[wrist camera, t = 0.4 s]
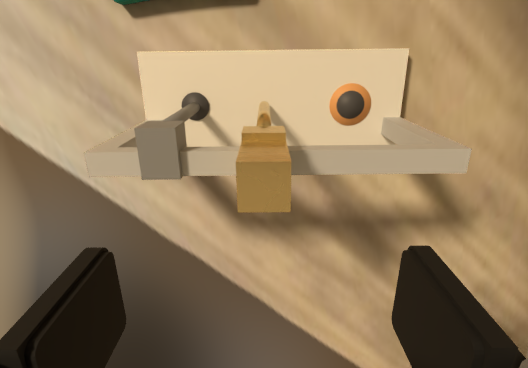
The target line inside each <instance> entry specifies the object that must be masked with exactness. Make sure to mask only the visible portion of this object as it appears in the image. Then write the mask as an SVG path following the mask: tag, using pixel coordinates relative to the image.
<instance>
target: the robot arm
mask: <svg viewBox="0 0 528 368" xmlns="http://www.w3.org/2000/svg"><path fill="white" fill-rule="evenodd" d="M392 324H393V328H394V330H395V332H396V334H397V336H398V339H399V341H400V343H401V345H402V347H403V349H404V351H405V353H406V355H407V358H408V360H409V362H410V364H411V366H412V368H528V359H526V358H525V357H524V356H523V355H522V353H521V352H520V351H519V350H518V347H517V346H516V345H515V344H514V343H513V341H512V340H511V339H510V338H509V337H508V336H507V334H506V333H505V332H504V331H503V330H502V329H501V328H500V326H499V325H498V324H497V323H496V322H495V321H494V319H493V318H492V317H491V316H490V315H489V314H488V313H487V311H486V310H485V309H484V308H483V307H482V306H481V304H480V303H479V302H478V301H477V300H476V299H475V298H474V296H473V295H472V294H471V293H470V292H469V291H468V289H467V288H466V287H465V286H464V285H463V284H462V283H461V281H460V280H459V279H458V278H457V277H456V276H455V274H454V273H453V272H452V271H451V270H450V269H449V268H448V266H447V265H446V264H445V263H444V262H443V261H442V259H441V258H440V257H439V256H438V255H437V254H436V253H435V251H434V250H433V249H432V248H431V247H430V246H409V248H408V250H404V251H403V253H402V258H401V264H400V270H399V276H398V282H397V288H396V294H395V300H394V306H393V312H392ZM125 325H126V315H125V310H124V305H123V300H122V295H121V290H120V285H119V280H118V275H117V270H116V265H115V260H114V256H113V253H112V252H108V250H107V249H106V248H86V249H84V250H83V251H82V252H81V253H80V255H79V256H78V257H77V258H76V259H75V260H74V261H73V262H72V263H71V264H70V265H69V267H67V268H66V270H65V271H64V272H63V273H62V274H61V275H60V276H59V277H58V278H57V279H56V281H54V282H53V284H52V285H51V286H50V287H49V288H48V289H47V290H46V291H45V292H44V293H43V294H42V296H40V298H39V299H38V300H37V301H36V302H35V303H34V304H33V305H32V306H31V307H30V308H29V309H28V310H27V312H26V313H25V314H24V315H23V316H22V317H21V318H20V319H19V320H18V321H17V322H16V323H15V325H14V326H13V327H12V328H11V329H10V330H9V331H8V332H7V333H6V334H5V335H4V336H3V337H2V338H1V340H0V368H105V366H106V364H107V362H108V360H109V358H110V356H111V354H112V352H113V350H114V348H115V346H116V345H117V342H118V341H119V339H120V337H121V335H122V332H123V331H124V329H125Z"/></svg>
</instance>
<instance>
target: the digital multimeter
mask: <svg viewBox="0 0 528 368" xmlns="http://www.w3.org/2000/svg"><path fill="white" fill-rule="evenodd" d="M114 1H115V2H117V3H119V4H122V5H126V4H132V3H137V2H143V1H148V0H114Z"/></svg>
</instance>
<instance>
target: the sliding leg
mask: <svg viewBox="0 0 528 368" xmlns="http://www.w3.org/2000/svg"><path fill="white" fill-rule="evenodd" d="M241 135H242V141H241V145H240V148H239V152H238V156H237V159H236V182H237V205H238V213H241V212H290V211H291V158H290V154H289V150H288V146H287V142H286V131H285V127H284V126H271V118H270V107H269V103H268V102H266V101H262V102H261V103H260V104H259V110H258V118H257V126H243V130H242V133H241Z"/></svg>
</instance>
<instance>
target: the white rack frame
mask: <svg viewBox="0 0 528 368" xmlns="http://www.w3.org/2000/svg"><path fill="white" fill-rule="evenodd" d="M408 54H409V48H403V49H321V50H238V51H155V52H137V57H138V64H139V72H140V79H141V86H142V94H143V101H144V108H145V115H146V120H145V121H143V122H141V123H139V124H137V125H135V126H134V127H132V128H130V129H128V130H126V131H124V132H122V133H120V134H118V135H116V136H114V137H113V138H111V139H109V140H107V141H105V142H103V143H101V144H99V145H97V146H95V147H94V148H92V149H90V150H88V151H86V152H84V157H85V161H86V166H87V171H88V175H89V177H135V176H141V177H142V180H156V179H181V178H182V176H236V159H237V156H238V152H239V148H240V145H241V141H242V135H241V133H242V130H243V126H257V118H258V110H259V104H260V103H261V102H262V101H266V102H268V103H269V107H270V118H271V126H284V127H285V131H286V142H287V146H288V150H289V154H290V158H291V175H339V174H440V173H467V168H468V164H469V159H470V154H471V150H472V149H471V148H469V147H467V146H465V145H462V144H460V143H458V142H455V141H453V140H451V139H449V138H446V137H444V136H442V135H440V134H437V133H435V132H433V131H430V130H428V129H426V128H424V127H421V126H419V125H417V124H415V123H412V122H410V121H408V120H405V119H403V118H401V117H400V114H401V106H402V99H403V91H404V84H405V76H406V69H407V62H408ZM396 144H397V145H396Z"/></svg>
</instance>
